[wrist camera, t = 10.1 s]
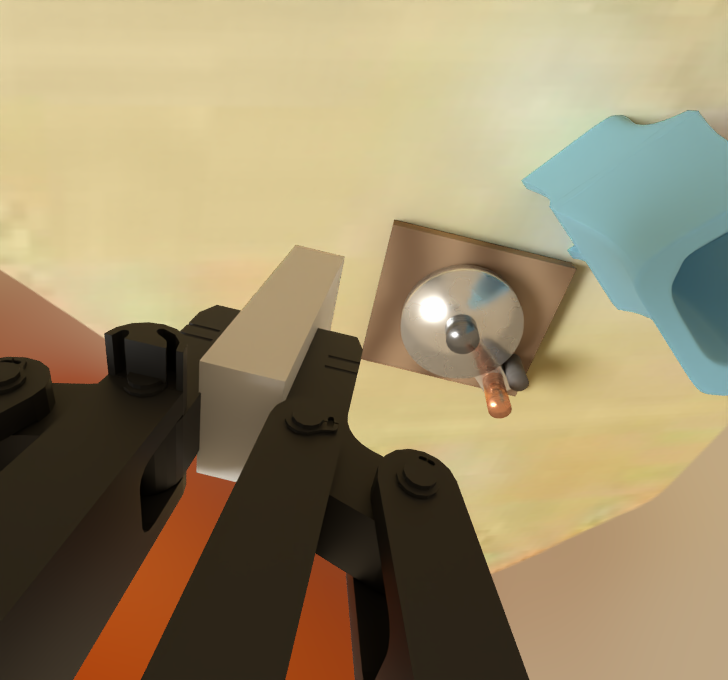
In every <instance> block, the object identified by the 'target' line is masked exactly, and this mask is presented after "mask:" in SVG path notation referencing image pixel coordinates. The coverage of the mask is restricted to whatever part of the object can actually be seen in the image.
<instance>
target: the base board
mask: <svg viewBox="0 0 728 680" xmlns="http://www.w3.org/2000/svg"><path fill="white" fill-rule="evenodd" d="M453 265H474V266H479V267H483V268H486V269H488V270H490V271H493V272H495V273H496V274H498V275H499V276H501V277H502V278H503V279H504V280H505V281H507V283H508V284H509V285H510V286H511V287H512V289H513V291H514V292H515V294H516V296H517V298H518V301H519V303H520V305H521V307H522V311H523V316H524V329H523V334H522V337H521V340H520V343H519V345H518V347H517V348H516V350H515V351H514V353H513V354H512V355H511V356H510V357H509V359H508V360H507V361H505V362H504V363H503V364H502V365H503V367H504V370H505V374H506V377H507V381H508V384H509V387H510V388H511V389H510V390H508V391H507V393H508V395H511V396H516V394H517V392H518V391H522V390H524V389H526V388H527V387H528V384H529V381H528V378H527V375H526V373H527V371H528V369H529V367H530V365H531V363H532V360H533V358H534V356H535V354H536V352H537V350H538V348H539V346H540V344H541V342H542V340H543V338H544V336H545V333H546V331H547V329H548V327H549V325H550V323H551V321H552V319H553V317H554V315H555V313H556V311H557V309H558V306H559V304H560V302H561V300H562V298H563V296H564V294H565V292H566V290H567V288H568V286H569V284H570V282H571V279H572V277H573V275H574V273H575V271H576V268H575V267H574V266H573V265H572V263H570V262H566V261H561V260H557V259H553V258H549V257H545V256H541V255H537V254H533V253H529V252H524V251H520V250H516V249H512V248H508V247H504V246H500V245H496V244H492V243H487V242H483V241H479V240H475V239H471V238H467V237H463V236H459V235H455V234H450V233H446V232H442V231H438V230H434V229H430V228H426V227H422V226H418V225H413V224H409V223H405V222H401V221H397V220H394V223H393V227H392V231H391V235H390V239H389V243H388V247H387V252H386V256H385V260H384V264H383V268H382V272H381V276H380V280H379V284H378V288H377V292H376V296H375V301H374V305H373V309H372V313H371V317H370V321H369V325H368V329H367V333H366V337H365V341H364V345H363V352H362V356H361V359H363V360H367V361H371V362H375V363H379V364H384V365H388V366H392V367H396V368H400V369H404V370H408V371H412V372H417V373H421V374H425V375H429V376H433V377H437V378H441V379H445V380H450V381H454V382H458V383H462V384H466V385H470V386H474V387H478V388H481V387H480V385H479V383H478V382H477V380H476V379H475V377H472V378H462V379H457V378H448V377H443V376H439V375H436V374H434V373H431V372H429V371H428V370H426V369H424V368H423V367H421V366H420V365H419V364H417V363H416V362H415V361H414V360H413V358H412V357H411V356H410V355H409V353H408V352H407V350H406V348H405V346H404V343H403V340H402V336H401V316H402V310H403V306H404V303H405V300H406V298H407V296H408V294H409V293H410V291H411V290H412V289H413V287H414V286H415V285H416V284H417V283H418V282H419V281H420V280H422V279H423V278H424V277H425V276H427V275H429V274H430V273H432V272H434V271H436V270H438V269H441V268H444V267H448V266H453Z"/></svg>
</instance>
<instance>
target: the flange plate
mask: <svg viewBox="0 0 728 680" xmlns="http://www.w3.org/2000/svg"><path fill="white" fill-rule="evenodd" d="M523 329H524V316H523V311H522V307H521V305H520V303H519V301H518V298H517V296H516V294H515V292H514V291H513V289H512V287H511V286H510V285H509V284H508V283H507V281H505V280H504V279H503V278H502V277H501V276H499V275H498V274H496V273H495V272H493V271H490V270H488V269H486V268H483V267H479V266H474V265H453V266H448V267H444V268H441V269H438V270H436V271H434V272H432V273H430V274H429V275H427V276H425V277H424V278H423V279H422V280H420V281H419V282H418V283H417V284H416V285H415V286H414V287H413V289H412V290H411V291H410V293H409V294H408V296H407V298H406V300H405V303H404V306H403V310H402V316H401V336H402V340H403V343H404V346H405V348H406V350H407V352H408V353H409V355H410V356H411V357H412V358H413V360H414V361H415V362H416V363H417V364H419V365H420V366H421V367H423V368H424V369H426V370H428V371H429V372H431V373H434V374H436V375H439V376H443V377H448V378H457V379H462V378H472V377H475V379H476V380H477V382H478V383H479V385H480V387H481V388H482V390H483V391H484V393H485V397H486V402H487V407H488V412H489V414H490V415H491V416H492V417H494V418H504V417H506V416H508V415H509V414H510V413H511V410H512V408H511V404H510V401H509V397H508V393H507V391H508V390H510V389H511V388H510V387H509V384H508V381H507V377H506V374H505V370H504V367H503V365H502V364H503V363H504V362H505V361H507V360H508V359H509V357H510V356H511V355H512V354H513V353H514V351H515V350H516V348H517V347H518V345H519V343H520V340H521V337H522V334H523Z"/></svg>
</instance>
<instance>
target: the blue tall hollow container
mask: <svg viewBox="0 0 728 680" xmlns="http://www.w3.org/2000/svg"><path fill="white" fill-rule="evenodd" d="M521 181H522V182H523V184H524V185H525V187H526V188H527V189H529V190H532V191H534V192H537V193H539V194H541V195H543V196H545V197H547V198H548V199H550V206H549V207H550V208H551V210H552V211H553V213H554V214H555V216H556V217H557V219H558V220H559V222H560V223H561V225H562V227H563V228H564V230H565V231H566V233H567V234H568V236H569V237H570V239H571V240H572V242H573V243H574V246H573V247H571V248H570V249H568V252H569V253H570V255H571V256H572V258H574V259H579V260H583V261H585V262H586V263H587V265H588V266H589V268H590V269H591V271H592V272H593V274H594V275H595V277H596V279H597V280H598V282H599V283H600V285H601V287H602V288H603V290H604V291H605V293H606V294H607V296H608V297H609V299H610V300H611V302H612V303H613V304H614V306H615V307H616V308H617V309H618V310H623V311H629V312H634V313H638V314H641V315H643V316H646V317H648V318H650V319H652V320H653V321H654V323H655V324H656V326H657V328H658V329H659V331H660V333H661V334H662V336H663V337H664V339H665V341H666V342H667V344H668V345H669V347H670V349H671V350H672V352H673V353H674V355H675V357H676V358H677V360H678V361H679V363H680V365H681V366H682V368H683V369H684V371H685V373H686V374H687V376H688V377H689V379H690V380H691V381H692V383H693V384H694V385H695V387H696V388H697V389H698V390H700V391H701V392H703V393H706V394H712V395H722V396H725V395H728V141H727V140H726V139H724V138H723V137H722V136H720V135H719V134H717V133H716V132H715V131H714V130H713V129H712V128H711V127H710V126H709V124H708V123H707V122H706V121H705V119H704V118H703V117H702V115H701V114H700V113H699V111H692V110H687V111H686V112H683V113H681V114H679V115H676V116H674V117H672V118H669V119H666V120H664V121H661V122H657V123H654V124H648V125H639V124H635V123H634V122H632V121H631V120H630V119H629V118H628V117H626V116H623V115H615V116H611V117H609V118H607V119H605V120H603V121H602V122H600V123H599V124H597V125H596V126H594V127H593V128H592V129H590V130H589V131H587V132H586V133H585V134H583V135H582V136H581V137H579V138H578V139H577V140H575V141H574V142H573V143H571V144H570V145H569V146H567V147H566V148H565V149H563V150H562V151H560V152H559V153H558V154H556V155H555V156H554V157H552V158H551V159H550V160H548V161H547V162H546V163H544V164H543V165H542V166H540V167H539V168H538V169H536V170H535V171H533V172H532V173H531V174H529V175H528V176H527V177H525V178H524V179H523V180H521Z"/></svg>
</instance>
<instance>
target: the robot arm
mask: <svg viewBox="0 0 728 680" xmlns="http://www.w3.org/2000/svg"><path fill="white" fill-rule="evenodd" d="M344 258H345V257H344V256H340V255H336V254H331V253H327V252H323V251H319V250H315V249H311V248H307V247H303V246H299V245H295V246H294V248H293V249H292V250H291V251H290V252H289V254H288V255H287V256H286V257H285V258H284V260H283V261H282V262H281V263H280V264H279V266H278V267H277V268H276V269H275V270H274V272H273V273H272V274H271V275H270V276H269V278H268V279H267V280H266V281H265V283H264V284H263V285H262V286H261V287H260V289H259V290H258V291H257V292H256V293H255V295H254V296H253V297H252V298H251V299H250V301H249V302H248V303H247V304H246V305H245V307H244V308H243V309H242V310H241V311H240V310H236V309H232V308H228V307H224V306H219V305H216V306H213V307H211V308H209V309H206V310H204V311H201V312H199V313H198V314H197V315H196V316H195V317H194V318H193V319H192V320H191V321H190V322H189V325H186V326H185V327H184V328H183V329H182V330H181V331H178V330H177V329H175V328H172V327H169V326H167V325H164V324H156V323H149V322H148V323H131V324H127V325H123V326H119V327H116V328H114V329H112V330H110V331H108V332H106V333H104V335H105V345H106V355H107V365H108V375H107V376H106V377H105V378H104V379H103V380H102V381H100V382H99V383H98V384H69V383H52V381H51V375H50V371H49V368H48V367H47V366H45V365H44V364H43V363H41V362H40V361H37V360H33V359H29V358H24V357H3V358H0V680H73V679H74V677H75V676H76V674H77V672H78V671H79V669H80V667H81V666H82V664H83V662H84V660H85V659H86V657H87V655H88V653H89V652H90V650H91V649H92V647H93V645H94V644H95V642H96V640H97V639H98V637H99V635H100V633H101V632H102V630H103V628H104V627H105V625H106V623H107V622H108V620H109V618H110V617H111V615H112V613H113V612H114V610H115V608H116V606H117V605H118V603H119V601H120V600H121V598H122V596H123V594H124V593H125V591H126V589H127V588H128V586H129V585H130V583H131V581H132V579H133V578H134V576H135V574H136V573H137V571H138V569H139V568H140V566H141V564H142V563H143V561H144V559H145V557H146V556H147V554H148V552H149V551H150V549H151V547H152V546H153V544H154V542H155V541H156V539H157V537H158V535H159V534H160V532H161V531H162V529H163V527H164V525H165V524H166V522H167V520H168V519H169V517H170V515H171V514H172V512H173V510H174V508H175V507H176V505H177V504H178V502H179V500H180V498H181V497H182V495H183V493H184V489H185V486H186V471H187V469H188V467H189V466H190V464H191V462H192V461H193V459H194V458H195V456H196V455H197V473H202V474H206V475H210V476H214V477H218V478H222V479H226V480H231V481H234V482H236V484H235V486H234V488H233V490H232V492H231V494H230V496H229V498H228V500H227V502H226V505H225V507H224V509H223V511H222V513H221V515H220V517H219V519H218V521H217V523H216V525H215V528H214V529H213V532H212V534H211V536H210V538H209V540H208V542H207V544H206V546H205V548H204V550H203V552H202V554H201V556H200V558H199V560H198V563H197V565H196V567H195V569H194V571H193V573H192V575H191V577H190V579H189V581H188V583H187V585H186V587H185V589H184V591H183V594H182V596H181V598H180V600H179V602H178V604H177V606H176V608H175V610H174V612H173V614H172V617H171V618H170V620H169V623H168V625H167V627H166V629H165V631H164V633H163V635H162V637H161V639H160V641H159V644H158V646H157V648H156V650H155V652H154V654H153V656H152V658H151V660H150V662H149V664H148V666H147V669H146V670H145V672H144V674H143V676H142V678H141V680H285V678H286V674H287V670H288V666H289V661H290V657H291V653H292V649H293V645H294V640H295V636H296V632H297V628H298V623H299V619H300V615H301V611H302V607H303V602H304V598H305V594H306V590H307V586H308V582H309V577H310V573H311V569H312V565H313V561H314V556H315V553H316V554H318V555H319V556H321V557H322V558H324V559H325V560H327V561H329V562H330V563H332V564H333V565H335V566H337V567H338V568H340V569H341V570H343V571H345V572H346V579H347V592H348V603H349V616H350V628H351V639H352V651H353V663H354V675H355V680H529V678H528V675H527V673H526V669H525V667H524V664H523V661H522V659H521V656H520V653H519V650H518V648H517V645H516V642H515V639H514V637H513V634H512V632H511V629H510V626H509V623H508V621H507V618H506V615H505V612H504V609H503V607H502V604H501V601H500V598H499V596H498V593H497V590H496V587H495V585H494V582H493V580H492V577H491V574H490V571H489V568H488V566H487V563H486V560H485V557H484V555H483V552H482V549H481V546H480V544H479V541H478V538H477V535H476V533H475V530H474V527H473V525H472V522H471V519H470V516H469V514H468V511H467V508H466V505H465V503H464V500H463V497H462V494H461V492H460V489H459V486H458V484H457V481H456V479H455V478H454V476H453V474H452V473H451V471H450V469H449V468H447V467H446V466H445V465H444V464H443V463H442V462H441V461H440V460H439V459H437V458H435V457H433V456H431V455H429V454H427V453H425V452H422V451H417V450H412V449H403V450H395V451H393V452H391V453H389V454H387V455H385V456H384V457H383V456H381V455H379V454H377V453H375V452H373V451H372V450H370V449H368V448H367V447H365V446H364V445H362V444H361V443H360V442H359V441H358V440H357V439H356V438H355V437H354V435H353V434H352V432H351V431H350V429H349V425H348V412H349V408H350V403H351V399H352V395H353V391H354V386H355V382H356V378H357V373H358V369H359V365H360V361H361V356H362V352H363V349H362V347H361V345H360V342H359V340H358V338H357V337H353V336H349V335H345V334H341V333H337V332H333V331H330V329H331V324H332V319H333V314H334V309H335V304H336V299H337V293H338V288H339V283H340V278H341V273H342V268H343V263H344Z"/></svg>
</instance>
